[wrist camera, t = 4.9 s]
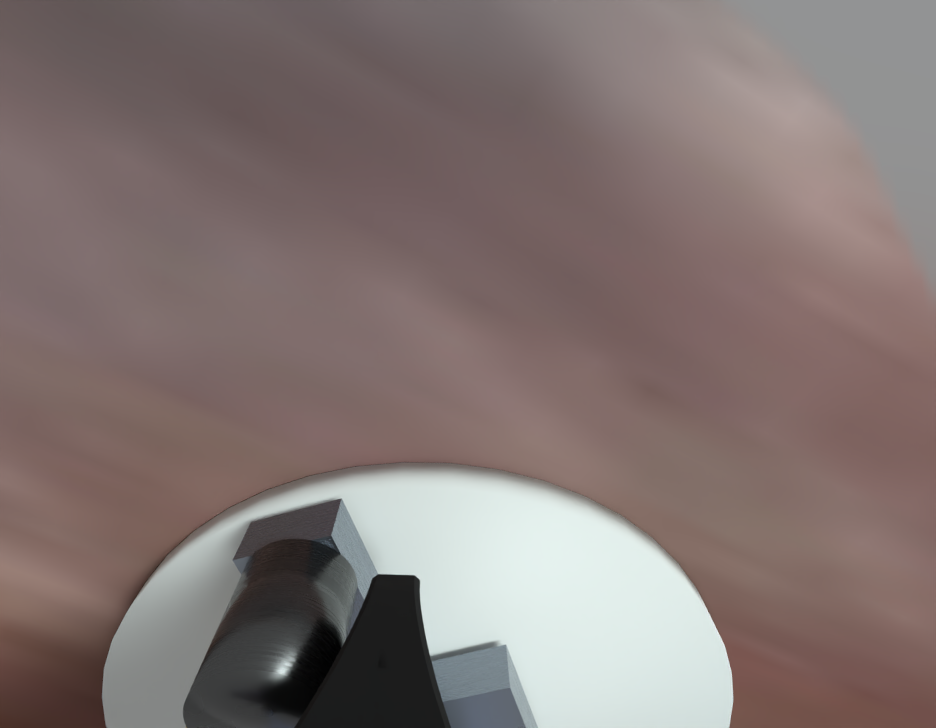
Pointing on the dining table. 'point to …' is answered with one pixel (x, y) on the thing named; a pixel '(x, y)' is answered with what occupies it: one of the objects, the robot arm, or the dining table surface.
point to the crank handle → (319, 633)
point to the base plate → (462, 597)
